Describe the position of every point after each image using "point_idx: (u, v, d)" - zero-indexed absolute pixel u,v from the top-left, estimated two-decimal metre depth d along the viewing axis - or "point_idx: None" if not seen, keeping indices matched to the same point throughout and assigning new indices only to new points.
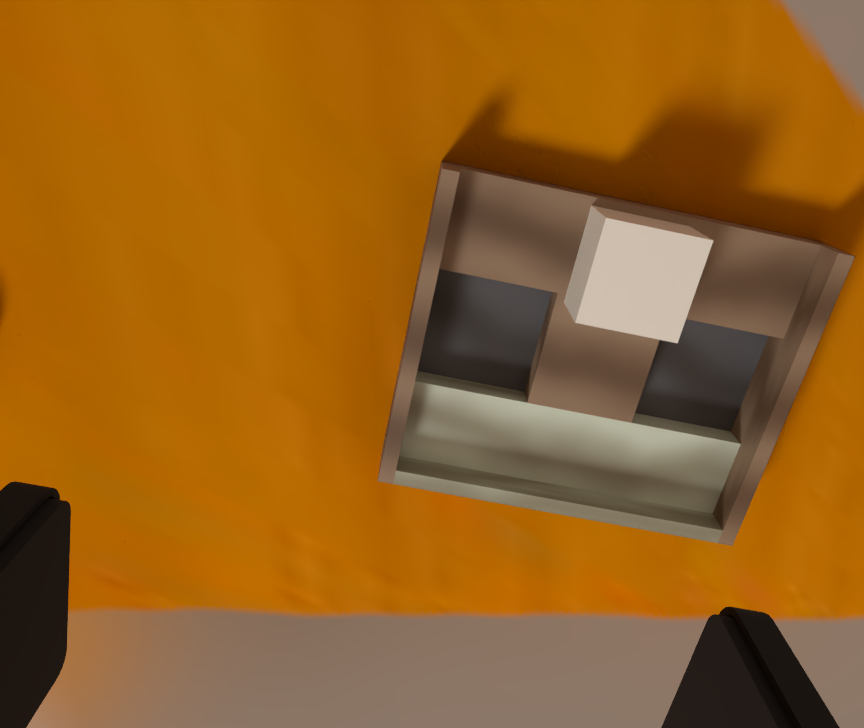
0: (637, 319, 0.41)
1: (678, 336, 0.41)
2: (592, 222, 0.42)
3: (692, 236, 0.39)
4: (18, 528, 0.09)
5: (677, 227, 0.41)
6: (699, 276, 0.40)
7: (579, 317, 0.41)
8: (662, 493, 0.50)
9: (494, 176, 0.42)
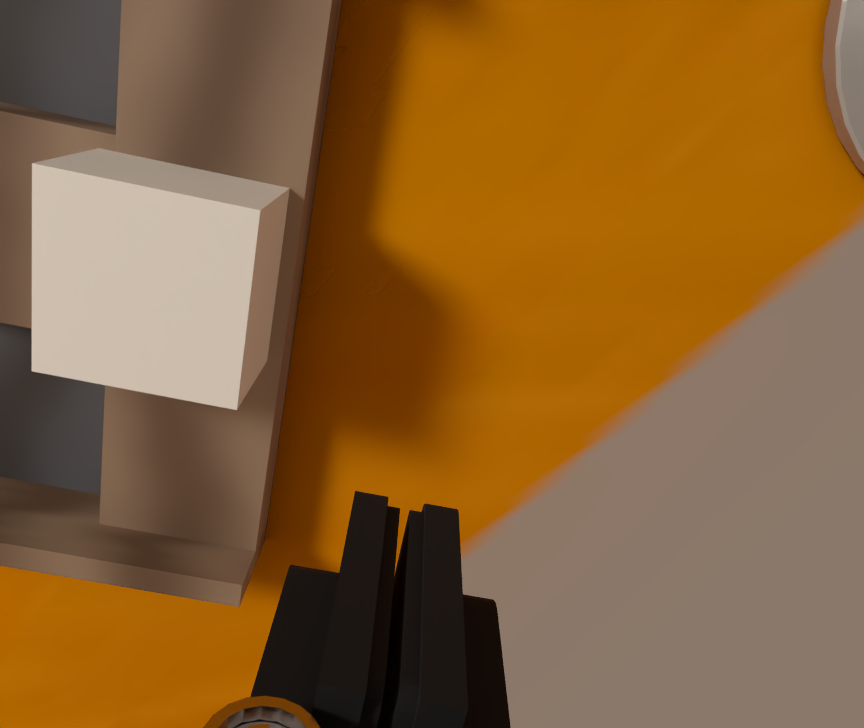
0: (64, 291, 0.20)
1: (45, 371, 0.21)
2: (255, 189, 0.22)
3: (240, 373, 0.21)
4: (384, 532, 0.10)
5: (259, 343, 0.23)
6: (168, 394, 0.22)
7: (45, 171, 0.19)
8: None
9: None
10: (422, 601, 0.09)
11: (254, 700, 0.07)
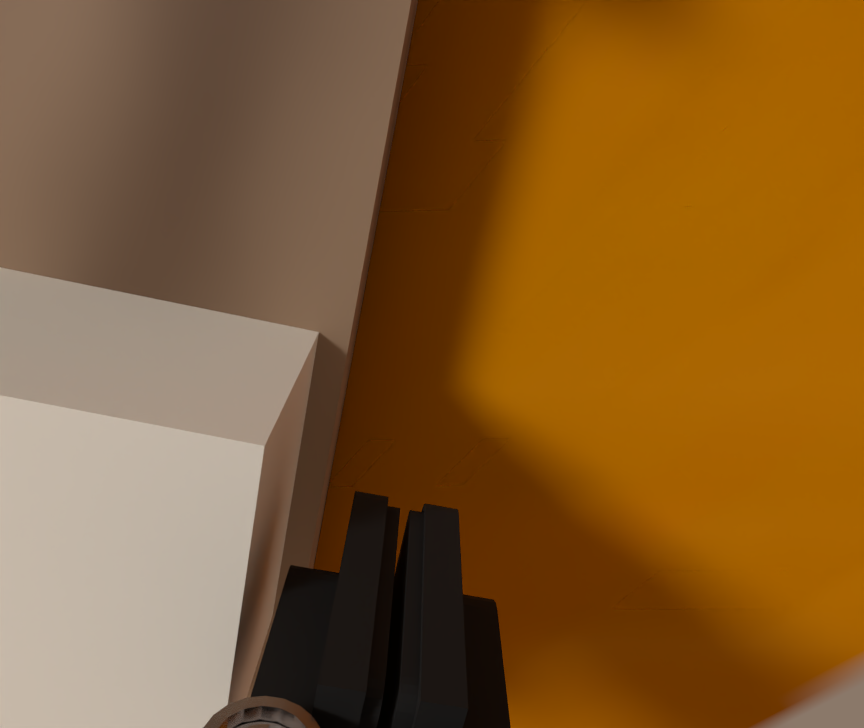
0: None
1: None
2: (253, 353, 0.11)
3: None
4: (385, 532, 0.10)
5: (260, 626, 0.12)
6: None
7: None
8: None
9: None
10: (422, 601, 0.09)
11: (254, 700, 0.07)
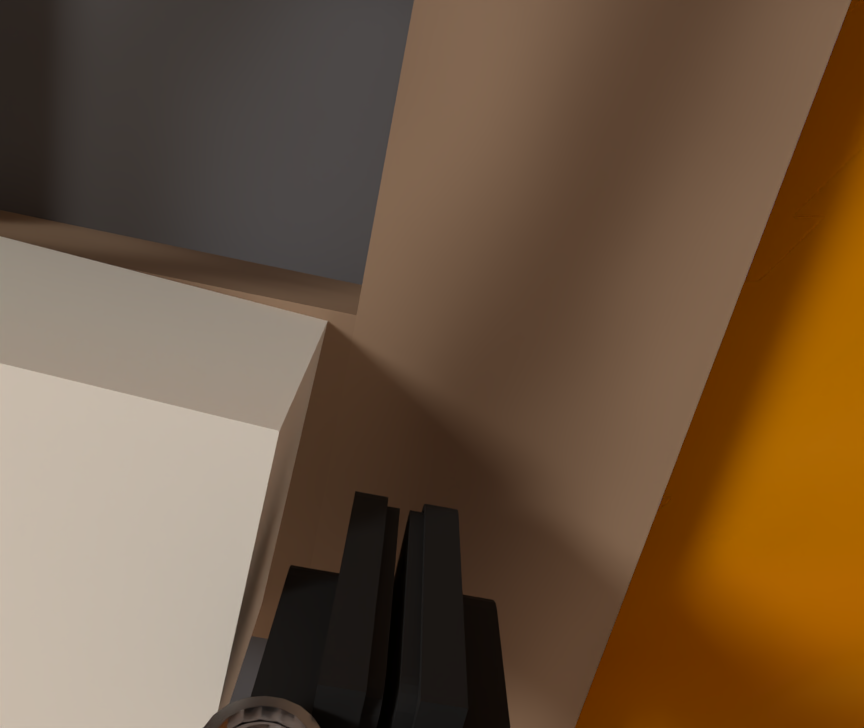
0: None
1: None
2: (264, 338, 0.11)
3: None
4: (385, 532, 0.10)
5: (252, 615, 0.12)
6: None
7: None
8: None
9: (828, 47, 0.11)
10: (422, 601, 0.09)
11: (254, 700, 0.07)
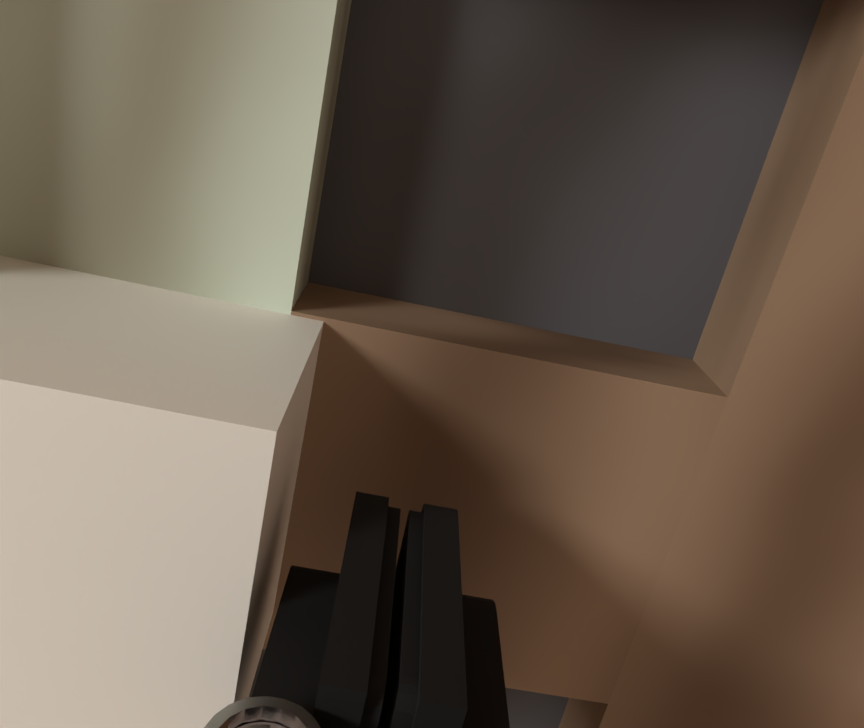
0: None
1: None
2: (259, 341, 0.11)
3: None
4: (385, 532, 0.10)
5: (263, 622, 0.12)
6: None
7: None
8: None
9: None
10: (421, 601, 0.09)
11: (255, 700, 0.07)
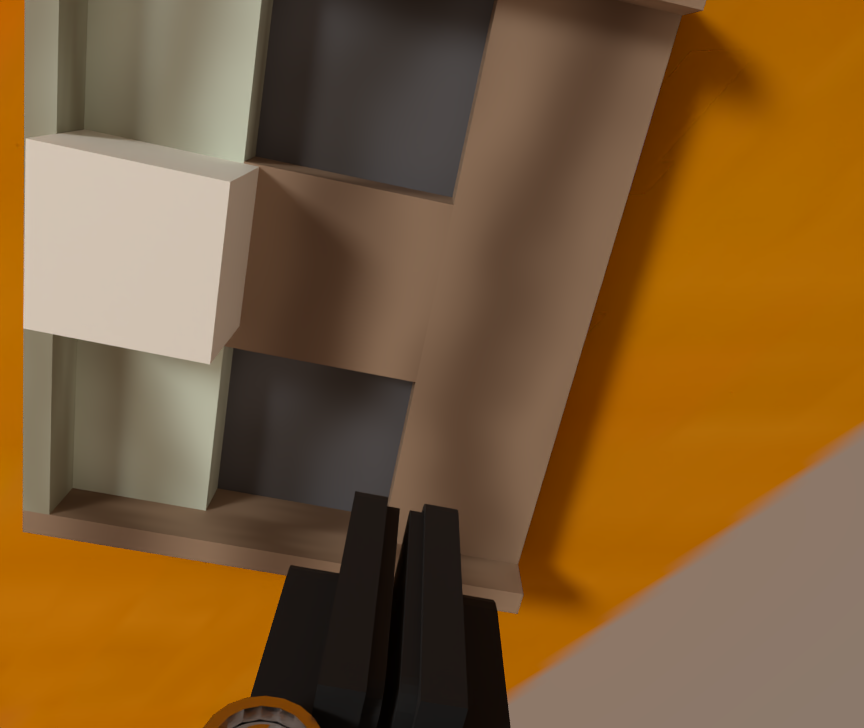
0: (54, 254, 0.23)
1: (36, 328, 0.24)
2: (227, 166, 0.24)
3: (213, 331, 0.24)
4: (384, 532, 0.10)
5: (231, 307, 0.26)
6: (147, 350, 0.24)
7: (37, 145, 0.22)
8: (96, 408, 0.29)
9: (659, 82, 0.25)
10: (422, 601, 0.09)
11: (254, 700, 0.07)
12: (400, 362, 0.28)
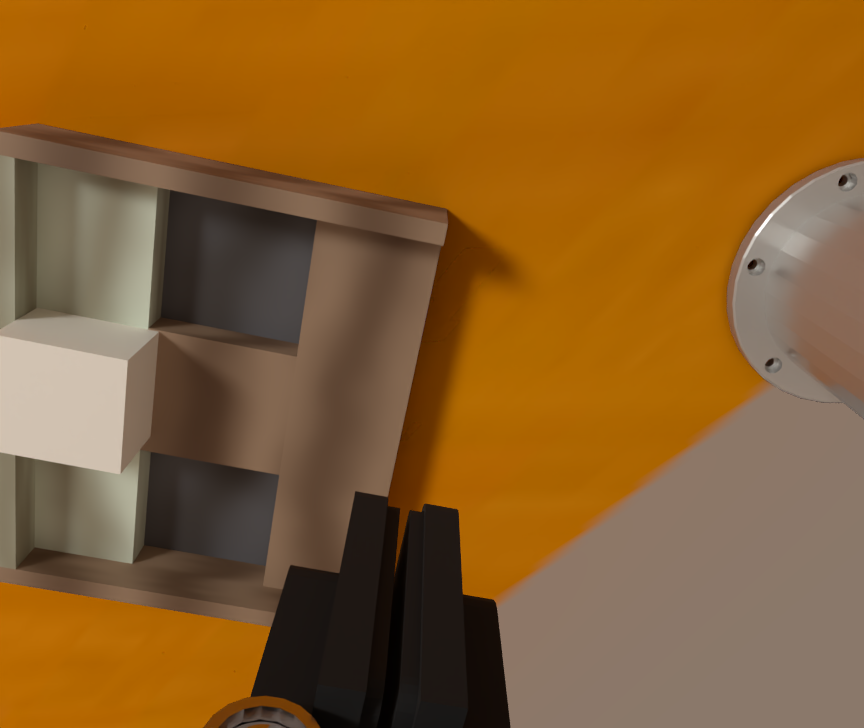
0: (12, 404, 0.34)
1: (1, 451, 0.35)
2: (133, 338, 0.35)
3: (121, 452, 0.35)
4: (384, 532, 0.10)
5: (139, 429, 0.37)
6: (78, 464, 0.35)
7: None
8: (50, 492, 0.40)
9: (433, 278, 0.36)
10: (422, 601, 0.09)
11: (254, 700, 0.07)
12: (267, 461, 0.39)
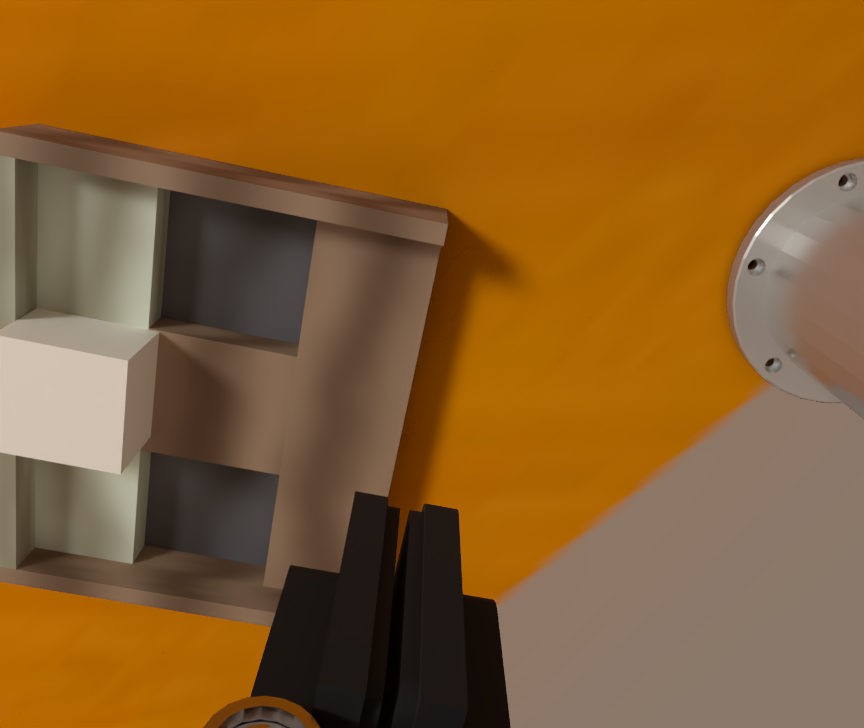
0: (12, 404, 0.34)
1: (1, 451, 0.35)
2: (133, 338, 0.35)
3: (122, 452, 0.35)
4: (384, 532, 0.10)
5: (139, 429, 0.37)
6: (78, 464, 0.35)
7: (0, 338, 0.33)
8: (50, 492, 0.40)
9: (433, 278, 0.36)
10: (422, 601, 0.09)
11: (254, 700, 0.07)
12: (267, 461, 0.39)
